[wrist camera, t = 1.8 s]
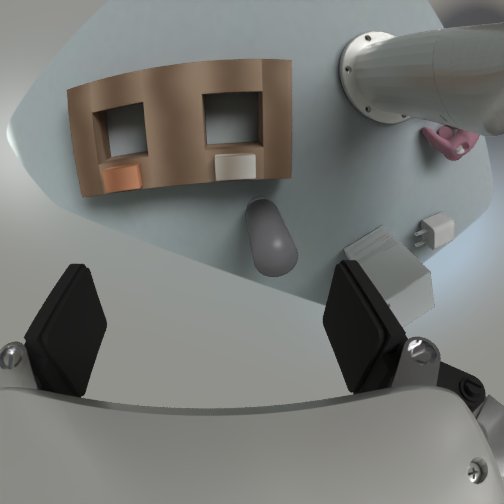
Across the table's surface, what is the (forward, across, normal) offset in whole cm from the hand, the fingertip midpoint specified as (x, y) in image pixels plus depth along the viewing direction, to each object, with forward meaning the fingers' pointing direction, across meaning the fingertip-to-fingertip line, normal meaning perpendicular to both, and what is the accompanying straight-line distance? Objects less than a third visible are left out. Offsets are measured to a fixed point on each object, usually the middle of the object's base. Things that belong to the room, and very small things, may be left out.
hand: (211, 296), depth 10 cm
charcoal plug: (+25, -5, +7) cm, 27 cm away
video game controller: (+25, -32, -9) cm, 42 cm away
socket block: (+25, +4, -4) cm, 26 cm away
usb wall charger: (+25, -33, +9) cm, 42 cm away
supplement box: (+25, -23, +13) cm, 37 cm away
